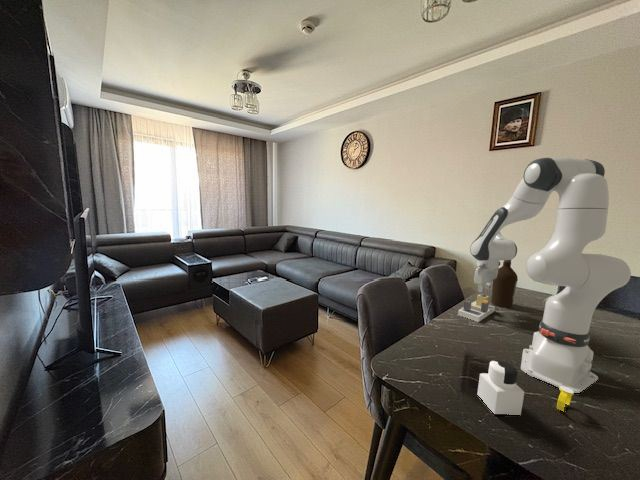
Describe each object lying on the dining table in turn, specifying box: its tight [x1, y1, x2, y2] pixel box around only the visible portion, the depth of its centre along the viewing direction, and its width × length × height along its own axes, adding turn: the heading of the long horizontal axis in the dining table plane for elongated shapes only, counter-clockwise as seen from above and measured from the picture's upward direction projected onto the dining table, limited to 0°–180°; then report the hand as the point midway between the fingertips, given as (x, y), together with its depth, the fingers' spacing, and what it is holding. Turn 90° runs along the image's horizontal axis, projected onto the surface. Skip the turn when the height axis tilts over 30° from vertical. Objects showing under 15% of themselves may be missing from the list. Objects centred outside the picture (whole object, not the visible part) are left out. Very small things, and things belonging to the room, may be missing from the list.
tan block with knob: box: [475, 293, 490, 306], centre depth 128 cm, size 4×4×6 cm
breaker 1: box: [463, 299, 473, 311], centre depth 123 cm, size 3×2×4 cm, turn 128°
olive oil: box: [490, 260, 518, 309], centre depth 136 cm, size 11×11×25 cm
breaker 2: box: [481, 300, 490, 312], centre depth 121 cm, size 3×2×5 cm, turn 128°
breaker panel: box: [457, 300, 495, 323], centre depth 125 cm, size 20×9×3 cm, turn 128°
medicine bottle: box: [476, 359, 525, 416], centre depth 67 cm, size 7×7×12 cm
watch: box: [556, 386, 575, 413], centre depth 67 cm, size 6×3×6 cm, turn 122°
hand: (484, 289), depth 127 cm, fingers open, 8 cm apart
